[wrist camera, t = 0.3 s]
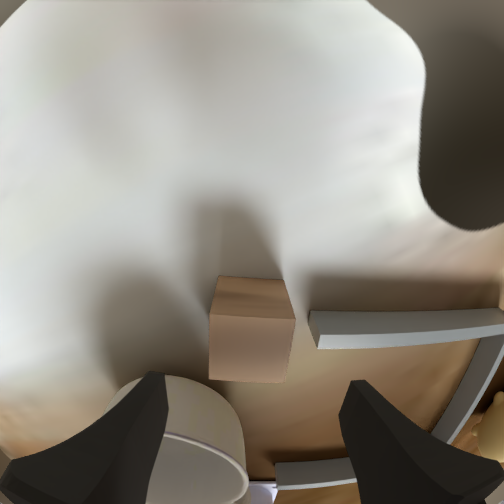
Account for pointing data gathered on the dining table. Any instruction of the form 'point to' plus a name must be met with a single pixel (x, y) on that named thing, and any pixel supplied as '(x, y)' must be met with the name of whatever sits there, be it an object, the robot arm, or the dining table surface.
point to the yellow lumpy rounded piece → (492, 430)
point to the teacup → (197, 448)
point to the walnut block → (250, 330)
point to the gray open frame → (403, 334)
